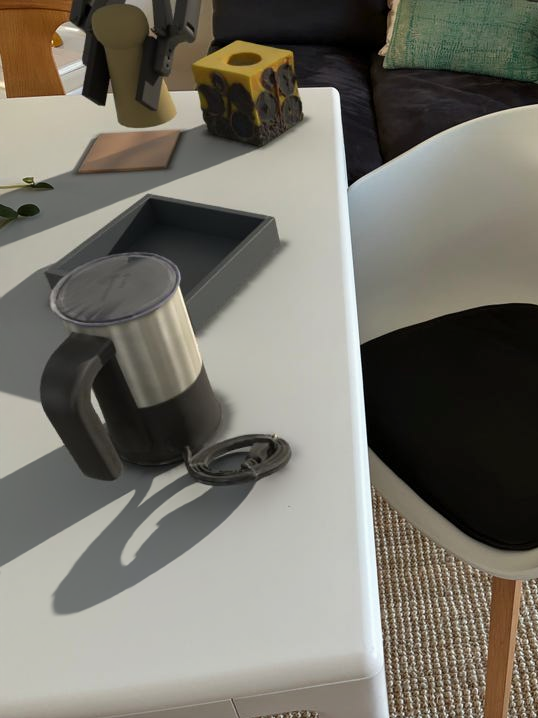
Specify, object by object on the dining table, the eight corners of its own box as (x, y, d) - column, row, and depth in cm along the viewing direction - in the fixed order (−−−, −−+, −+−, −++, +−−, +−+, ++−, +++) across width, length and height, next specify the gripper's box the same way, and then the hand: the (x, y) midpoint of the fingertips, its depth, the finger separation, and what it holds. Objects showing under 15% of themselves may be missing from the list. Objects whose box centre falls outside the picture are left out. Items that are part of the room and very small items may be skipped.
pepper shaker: (124, 133, 79) (88, 21, 72) (112, 111, 83) (76, 3, 76) (183, 119, 82) (154, 10, 75) (168, 99, 86) (139, -7, 78)
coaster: (78, 173, 101) (77, 170, 101) (100, 136, 109) (99, 133, 109) (165, 168, 102) (165, 166, 101) (180, 132, 110) (180, 129, 110)
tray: (57, 302, 80) (43, 271, 77) (156, 221, 92) (147, 193, 89) (195, 334, 76) (185, 303, 73) (281, 246, 88) (275, 216, 85)
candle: (251, 107, 116) (237, 38, 110) (306, 119, 113) (295, 50, 106) (205, 134, 109) (187, 63, 103) (262, 148, 106) (248, 75, 99)
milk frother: (128, 391, 70) (70, 252, 60) (305, 382, 71) (276, 243, 61) (79, 520, 59) (-2, 376, 49) (288, 507, 60) (249, 363, 50)
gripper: (257, -92, 81) (221, 125, 80) (100, -100, 84) (63, 109, 83) (223, -142, 74) (183, 95, 73) (53, -149, 77) (11, 79, 76)
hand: (119, 102), depth 78 cm, fingers closed on pepper shaker, 5 cm apart
